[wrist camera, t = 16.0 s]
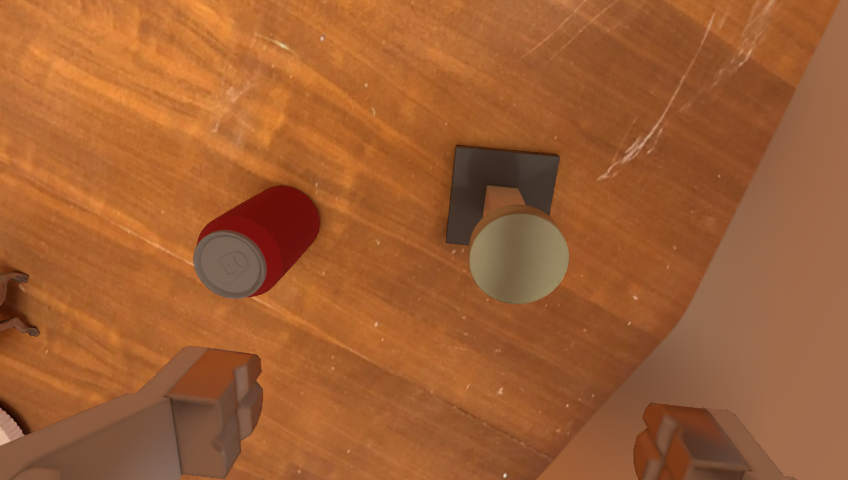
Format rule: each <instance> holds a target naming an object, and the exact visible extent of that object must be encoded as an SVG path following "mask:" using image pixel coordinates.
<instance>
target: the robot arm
mask: <svg viewBox="0 0 848 480" xmlns="http://www.w3.org/2000/svg"><path fill="white" fill-rule="evenodd" d="M261 372H262V370H261V359H260V358H259V356H258V355H256V354H249V353H242V352H235V351H228V350H221V349H214V348H213V349H211V348H205V347H197V346H187V347H184V348H183V349H182V350H181V351H180V352H179V353H177V354H176V355H175V356H174V357H173V358H172V359H171V360H170V361H169V362H168V363H167V364H166V365H165V366H164V367H163V368H162V369H161V370H160V371H159V372H158V373H157V374H156V375H155V376H154V377H153V378H152V379H151V380H150V381H149V382H148V383H146V384H145V385H144V386H143V387H142V388H141V389H140V390H139V391H138V392H137V393H136V394H134V393H127V394H124V395H122V396H120V397H117V398H115V399H112V400H110V401H107V402H105V403H103V404H100V405H98V406H95V407H93V408H90V409H88V410H86V411H83V412H81V413H78V414H76V415H73V416H71V417H69V418H66V419H64V420H61V421H59V422H56V423H54V424H52V425H49V426H47V427H44V428H42V429H39V430H37V431H35V432H32V433H30V434H27V435H25V436H22V437H20V438H18V439H15V440H13V441H10V442H8V443H5V444H3V445H1V446H0V480H178V479H179V478H181V474H182V475H192V476H201V477H211V478H221V479H225V478H226V476H227V474H228V473H229V471H230V469H231V468H232V466H233V464H234V463H235V461H236V459H237V458H238V456H239V454H240V453H241V444H240V441H241V440H243V439H245V438H246V437H248V436H250V435H251V434H252V432H253V430H254V429H255V427H256V425H257V423H258V420H259V417H260V413H261V410H262V403H263V389H262V387H261V386H260V385H259V384H258V382H257V381H256V379H257V378H258V376H259V375H260V373H261ZM643 420H644V422H645V424H646V426H647V429H645V430H644V431H642V432H641V433H640V434H638V435H637V438H636V441H635V445H634V467H635V471H636V475H637V477H638V480H797V479H795V478H794V477H789V476H784V475H783V474H782V472H781V471H780V470H779V469H778V467H777V466H776V465H775V464H774V462H773V461H772V460H771V459H770V457H769V456H768V455H767V454H766V453H765V451H764V450H763V449H762V448H761V446H760V445H759V444H758V443H757V441H756V440H755V439H754V437H753V436H752V435H751V434H750V433H749V431H748V430H747V429H746V427H745V426H744V425H743V424H742V423H741V421H740V420H739V419H738V417H737V416H736V415H735V414H733V413H732V412H730V411H729V410H722V409H711V408H693V407H685V406H676V405H668V404H659V403H650V404H649V405H648V406H647V408H646V410H645V413H644V415H643Z"/></svg>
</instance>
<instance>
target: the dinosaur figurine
mask: <svg viewBox="0 0 848 480" xmlns="http://www.w3.org/2000/svg"><path fill="white" fill-rule="evenodd" d="M26 278H28V276H27V275H24V274H21V273H17V272H9V273H5V274H0V306H1V305H2V304H3V302H4V301H5V299H6V292H7V284H8V281H9V280H10V279H11V280H13V281H17V282H19V283H21V282H24V283H27V280H26ZM11 327H14V328H16V329H17V330H19V331H20V332H21V333H28V332H29V335H30V336H35V337H37V335H39V332H38V331H37V329H36V328H32V327H31V328H28V327H27V326H24V325H23V323H22V321H21V320H20V319H19V318H17V317H13V318H10V319H7V320H3V321H0V332H1V331H3V330H5V329H8V328H11Z"/></svg>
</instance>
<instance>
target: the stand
mask: <svg viewBox="0 0 848 480" xmlns="http://www.w3.org/2000/svg"><path fill="white" fill-rule="evenodd" d="M559 160H560V156H559V155H557V154H548V153H538V152H527V151H517V150H506V149H495V148H485V147H474V146H463V145H456V149H455V159H454V169H453V178H452V188H451V197H450V207H449V216H448V226H447V236H446V243H452V244H461V245H469V242H470V237H471V234H472V232H473V230H474V228H475V227H476V225H477V224H478V223H479V221H480V220H481V219H482V218H483V217H484V216H486V215H487V214H488V213H490V212H491V211H493V210H495V209H497V208H500V207H503V206H507V205H515V204H519V205H528V206H532V207H535V208H537V209H539V210H541V211H543V212H544V213H546V214H547V215H548V216H549V213H550V208H551V203H552V197H553V192H554V187H555V181H556V176H557V170H558V165H559Z"/></svg>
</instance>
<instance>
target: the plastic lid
mask: <svg viewBox="0 0 848 480" xmlns="http://www.w3.org/2000/svg"><path fill="white" fill-rule="evenodd" d="M13 420H14V419H13V418H10V415H9V414H8V415H7V414H6V412H5V411H3V410H2V408H0V446H1V445H3V444H5V443H8V442H10V441H13V440H15V439H18V438H20V437H22V436H24V434H22V430H20V429H19V428H20V427H19V426H17V423H16V422H14V421H13Z"/></svg>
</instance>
